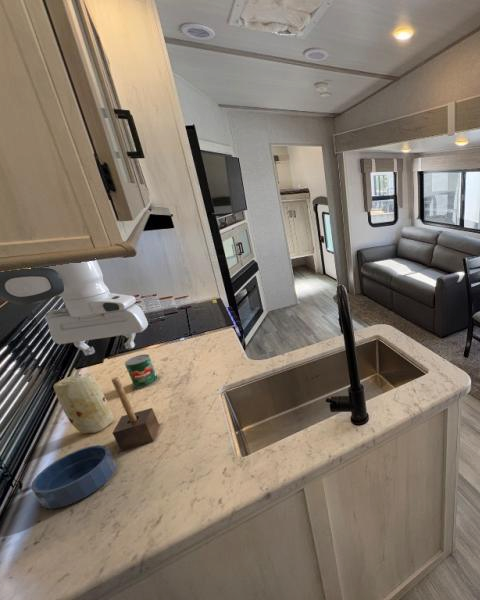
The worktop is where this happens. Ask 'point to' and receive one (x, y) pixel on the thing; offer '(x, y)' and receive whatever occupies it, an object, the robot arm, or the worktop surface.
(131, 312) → the robot arm
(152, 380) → the canned tomato
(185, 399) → the worktop surface
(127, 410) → the stick
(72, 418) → the food model
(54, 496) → the bowl
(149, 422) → the holder
